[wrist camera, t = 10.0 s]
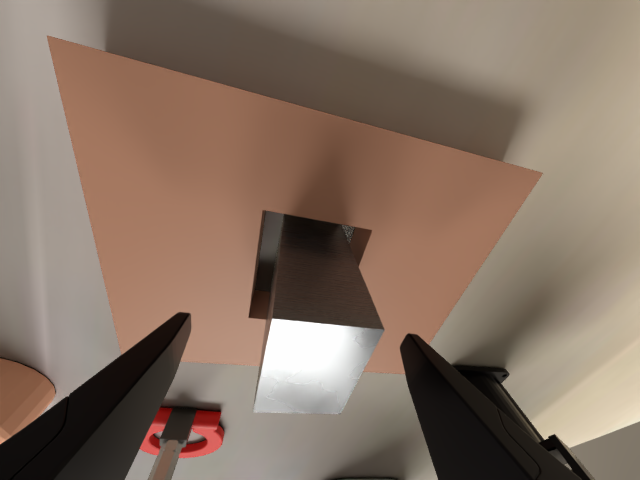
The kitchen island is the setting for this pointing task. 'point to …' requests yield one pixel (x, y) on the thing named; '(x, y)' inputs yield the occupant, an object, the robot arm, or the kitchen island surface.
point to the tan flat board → (265, 203)
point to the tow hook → (180, 438)
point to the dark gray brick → (315, 322)
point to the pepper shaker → (21, 397)
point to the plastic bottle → (366, 479)
